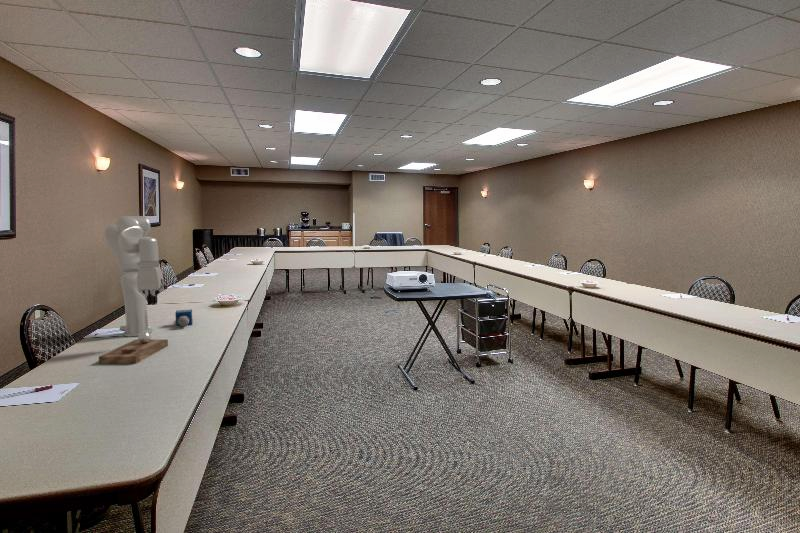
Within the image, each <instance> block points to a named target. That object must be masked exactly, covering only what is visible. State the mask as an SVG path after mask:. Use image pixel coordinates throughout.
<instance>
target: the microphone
mask: <svg viewBox="0 0 800 533" xmlns="http://www.w3.org/2000/svg"><path fill="white" fill-rule="evenodd" d="M193 320H194V319H193V309H181V310H175V327H176V328H178V327H177V326H181V327H188V326H187V325H191V326H193V322H194V321H193Z"/></svg>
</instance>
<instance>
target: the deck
mask: <svg viewBox="0 0 800 533" xmlns="http://www.w3.org/2000/svg"><path fill="white" fill-rule="evenodd" d="M168 340H169V339H150V341H149V342H147V343H141V342H140V341H139V340H138V339H133V340H132V341H129V342H127V343H125V344H122V345H121V346H118V347H117V348H115V349H112V350H110V351H108V352H106V353H104V354H102V355H100V356H98V364H99V365H108V364H109V365H112V364H113V365H116V364H117V365H118V364H119V365H121V364H123V365H126V364H127V365H128V364H129V365H130V364H131V365H132V364H133V365H134V364H138V363H139V362H140V363H141V362H142V361H144V360H145V359H147V358H149V357H151V356H153V355H154V354H156V353H158V352H160V351H162V350H163V349H165V348H167V347H169V341H168ZM161 349H162V350H161ZM152 354H153V355H152ZM150 355H151V356H150ZM143 359H144V360H143ZM141 360H142V361H141Z"/></svg>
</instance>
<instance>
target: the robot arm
mask: <svg viewBox="0 0 800 533" xmlns="http://www.w3.org/2000/svg"><path fill="white" fill-rule="evenodd" d="M150 230H151V222H150V220H149V218H148V217H147V216H144V215H143V216H142V215H139V216H138V215H124V216H121V217H118V219H117V220H116V224H111V225H108V226H107V227H105V229H104V237H105V241H106V242H107V246H109V248H110V249H111V251H112V252H113V253H114V256H115V258H116V263H117V265H118V268H119V270H120V272H121V273H122V275H121V276H120V279H119V280H120V286H121V290H122V294H123V300H124V301H123V303H124V311H125V312H124V313H125V323H126V325H120V326H119V331H124V332H123V334H122V335H123V336H125V337H130V338H131V337H138V336H139V334H140V333H142V332H148V333H149V334H151V333H153V329H152V328H149V319H148V318H149V317H148V306H150V305H152V306H155V305H157V304H158V295H159V294H161V293H162V292H164V291H165V287H164V286H165V282H164V281H165V280H164V276H163V271H162V268H161V267H160V260H159V247H158V240H157V238H155V237H152V236H147V235H148V233H149V232H150Z"/></svg>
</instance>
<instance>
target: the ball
mask: <svg viewBox="0 0 800 533" xmlns="http://www.w3.org/2000/svg"><path fill="white" fill-rule="evenodd" d="M137 340H139V341H140V342H141V343H147V342H149V341H150V340H152V335H151V333H148V332H142V333H140V334H139V336H137Z"/></svg>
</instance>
